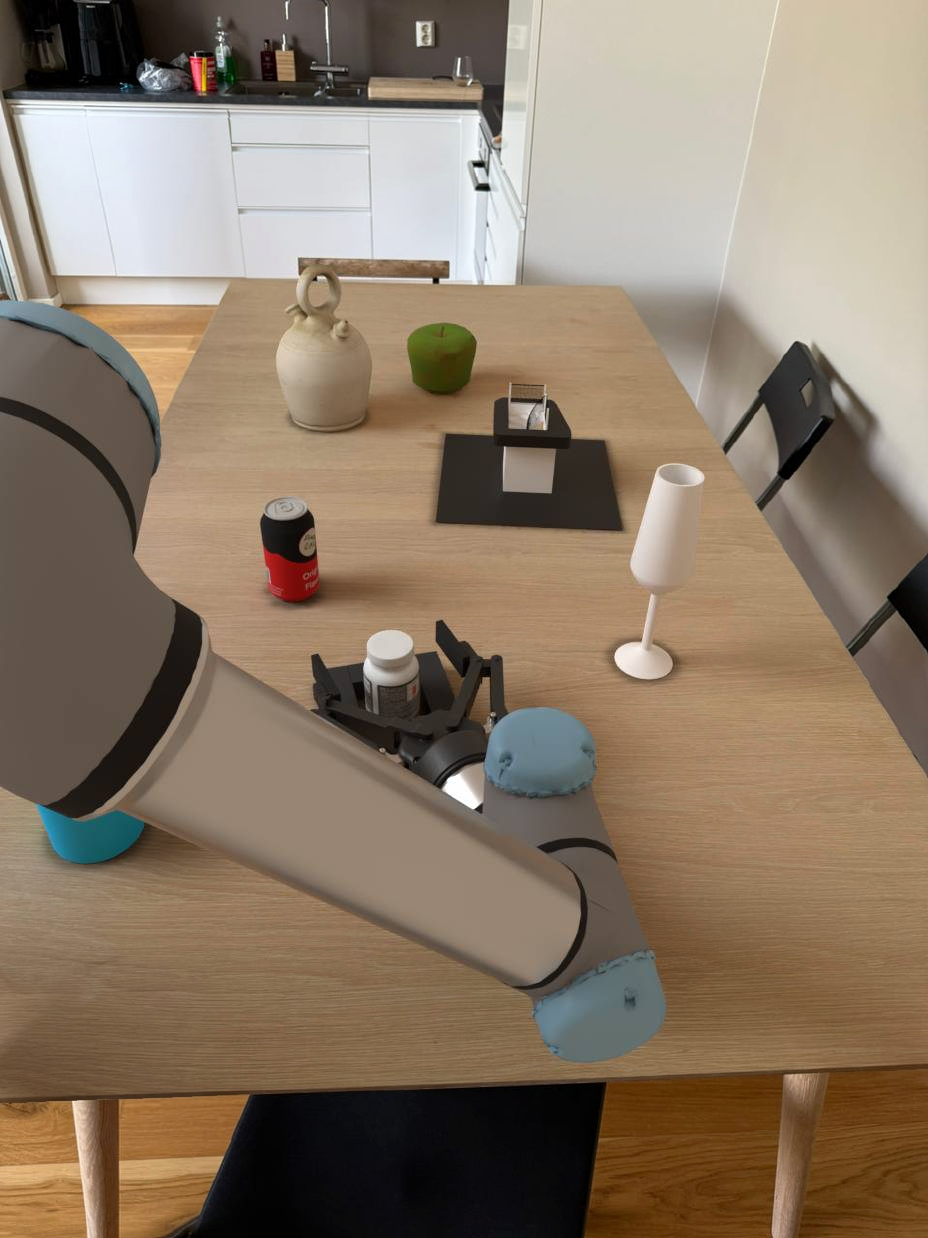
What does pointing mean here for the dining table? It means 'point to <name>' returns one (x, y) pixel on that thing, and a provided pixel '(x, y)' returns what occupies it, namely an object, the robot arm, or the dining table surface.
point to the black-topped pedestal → (527, 471)
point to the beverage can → (290, 549)
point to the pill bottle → (392, 676)
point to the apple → (441, 357)
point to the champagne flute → (663, 558)
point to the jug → (323, 361)
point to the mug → (90, 835)
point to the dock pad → (431, 683)
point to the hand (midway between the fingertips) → (378, 646)
